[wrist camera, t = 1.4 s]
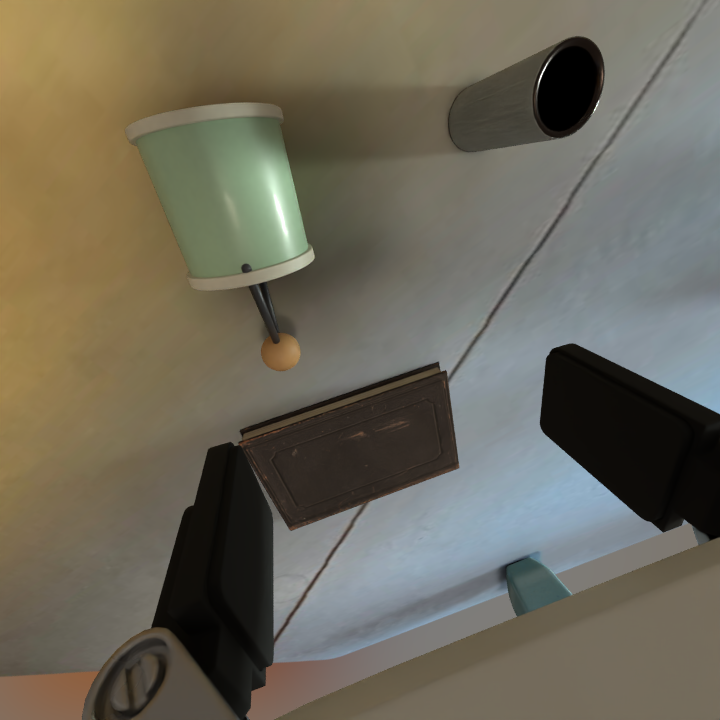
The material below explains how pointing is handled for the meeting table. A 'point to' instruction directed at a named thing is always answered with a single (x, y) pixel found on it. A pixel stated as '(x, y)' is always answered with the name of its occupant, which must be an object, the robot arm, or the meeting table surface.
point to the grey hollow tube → (531, 99)
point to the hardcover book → (355, 446)
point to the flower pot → (533, 586)
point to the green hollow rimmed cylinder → (229, 202)
